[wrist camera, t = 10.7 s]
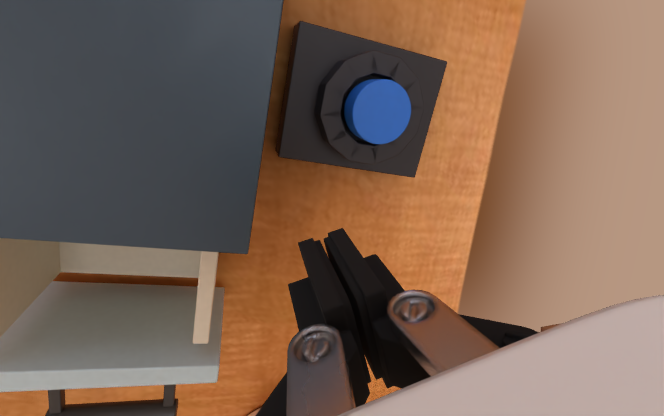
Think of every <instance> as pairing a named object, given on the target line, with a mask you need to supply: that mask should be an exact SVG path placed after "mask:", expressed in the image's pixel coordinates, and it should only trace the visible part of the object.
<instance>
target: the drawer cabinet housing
mask: <svg viewBox="0 0 664 416" xmlns="http://www.w3.org/2000/svg"><path fill="white" fill-rule="evenodd" d="M283 1H284V0H0V238H7V239H22V240H37V241H53V242H68V243H83V244H99V245H114V246H130V247H145V248H160V249H176V250H191V251H207V252H222V253H237V254H248V250H249V243H250V236H251V229H252V222H253V215H254V207H255V200H256V193H257V186H258V179H259V172H260V165H261V158H262V151H263V143H264V136H265V129H266V122H267V115H268V108H269V101H270V94H271V87H272V80H273V72H274V65H275V58H276V51H277V44H278V37H279V30H280V23H281V16H282V9H283Z"/></svg>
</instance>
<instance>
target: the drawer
mask: <svg viewBox="0 0 664 416" xmlns="http://www.w3.org/2000/svg"><path fill="white" fill-rule="evenodd" d="M218 255H219V252H207V251H191V250H176V249H160V248H145V247H130V246H114V245H99V244H83V243H68V242H53V241H37V240H22V239H7V238H0V392H13V391H36V390H48V398H49V409H48V411H47V413H46V415H45V416H176V415H177V408H178V399H175V388H176V384H196V383H216V382H217V381H218V373H219V364H220V349H221V334H222V320H223V305H224V291H225V288H224V287H215V282H216V273H217V264H218ZM60 272H70V273H93V274H116V275H140V276H163V277H186V278H198V286H173V285H145V284H117V283H89V282H61V281H53V280H54V279H55V278H56V277H57V275H58V274H59V273H60ZM150 385H164V399H159V400H141V401H123V402H105V403H87V404H68V405H65V389H82V388H104V387H127V386H150Z"/></svg>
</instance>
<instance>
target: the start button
mask: <svg viewBox="0 0 664 416" xmlns="http://www.w3.org/2000/svg"><path fill="white" fill-rule="evenodd" d="M410 116H411V103H410V99H409V96H408V94H407V92H406V91H405V90H404V88H403V87H402V86H401V85H399V84H398V83H396V82H394V81H392V80H387V79H370V80H366V81H363V82H361V83H359V84H358V85H356V86H355V87H354V88H353V89H352V90H351V92H350V93H349V95H348V97H347V99H346V102H345V107H344V117H345V121H346V124H347V126H348V128H349V129H350V131H351V132H352V133H353V134H354V135H356V136H357V137H359V138H361V139H363V140H365V141H367V142H370V143H372V144H386V143H389V142H392V141H394V140H395V139H397V138H398V137H399V136H400V135H401V134H402V133H403V132H404V130H405V129H406V127H407V125H408V123H409V120H410Z"/></svg>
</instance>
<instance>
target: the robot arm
mask: <svg viewBox="0 0 664 416" xmlns="http://www.w3.org/2000/svg"><path fill="white" fill-rule="evenodd" d="M324 243H325V246H326V250H327V254H328V256H327V254H326V252H325V250H324V248H323V246H322V244H321V242H320V240H318V241H314V240H313V238H311V239H308V240H305V241H302V242H299V243H298V245H299V248H300V251H301V254H302V258H303V261H304V264H305V267H306V270H307V274H308V278H305V279H302V280H299V281H296V282H293V283H290V284H288V286H289V291H290V295H291V299H292V303H293V308H294V312H295V316H296V320H297V324H298V329H299V332H298V333H297V334H296V335H295V336H294V337H293V338H292V340H291V342H290V344H289V347H288V359H287V373H286V374H285V376H284V377H283V378H282V380H281V381H280V382H279V384H278V385H277V387H276V388H275V389H274V391H273V392H272V393H271V395H270V396H269V398H268V399H267V400H266V402H265V403H264V404H263V406H262V407H261V409H260V410H259V411H258V413H257V414H256V415H255V416H664V295H658V296H652V297H646V298H640V299H635V300H631V301H627V302H624V303H620V304H616V305H612V306H609V307H606V308H604V309H601V310H598V311H595V312H592V313H590V314H586V315H584V316H581V317H578V318H575V319H573V320H570V321H568V322H565V323H562V324H556V325H550V326H545V327H541V332H536V331H534V330H532V329H529V328H526V327H522V326H517V325H512V324H506V323H501V322H496V321H490V320H485V319H480V318H475V317H469V316H464V315H459V314H457V313H456V312H454V311H453V310H452V309H451V308H450V307H448V306H447V305H446V304H445V303H443V302H442V301H441V300H440V299H438V298H437V297H436V296H434V295H433V294H431V293H429V292H426V291H423V290H408V291H404V289H403V288H402V287H401V285H400V284H399V283H398V282H397V280H396V279H395V278H394V277H393V275H392V274H391V273H390V271H389V270H388V269H387V268H386V266H385V265H384V264H383V262H382V261H381V260H380V259H379V257H378V256H377V255H376V254H374V255H371V256H368V257H365V258H363V257H362V255H361V254H360V252H359V251H358V250H357V248H356V247H355V245H354V244H353V242H352V241H351V239H350V238H349V237H348V235H347V234H346V232H345V231H344V229H343V228H341V229H338V230H335V231H332V232H329V233H328V237H327V238H324ZM328 257H329V258H328ZM364 355H365V356H364ZM365 357H366V359H367V361H368V363H369V365H370V368H371V370H372V372H373V374H374V376H375V378H376V380H377V379H379V378H383V380H384V383H385V385H386V387H387V388H390V387H392V386H396V387H399V388H402V389H400V390H397V391H395V392H393V393H390V394H388V395H385V396H383V397H380V398H378V399H376V400H373V401H371V402H368V403H366V404H365V402H366V400H367V398H368V396H369V394H370V392H369V388H368V384H367V383H369V382H371V379H370V375H369V371H368V367H367V363H366V359H365Z"/></svg>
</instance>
